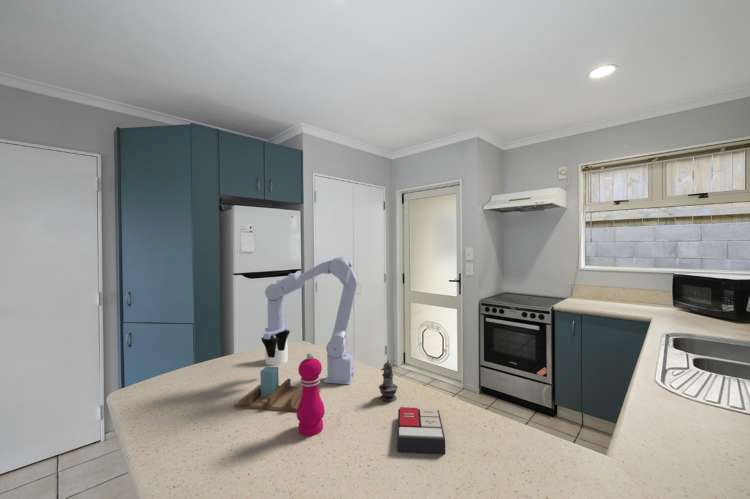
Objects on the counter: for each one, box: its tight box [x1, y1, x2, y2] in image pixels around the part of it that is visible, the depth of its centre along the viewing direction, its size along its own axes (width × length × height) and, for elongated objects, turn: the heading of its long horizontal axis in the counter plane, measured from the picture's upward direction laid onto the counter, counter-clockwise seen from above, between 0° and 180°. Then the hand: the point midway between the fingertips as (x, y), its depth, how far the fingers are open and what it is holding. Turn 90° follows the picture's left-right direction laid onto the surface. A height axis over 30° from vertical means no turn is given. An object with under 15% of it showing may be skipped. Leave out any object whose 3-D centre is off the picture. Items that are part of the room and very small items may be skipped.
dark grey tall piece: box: [378, 360, 398, 403], centre depth 101 cm, size 6×6×12 cm
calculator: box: [396, 406, 446, 456], centre depth 81 cm, size 11×4×15 cm
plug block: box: [260, 366, 280, 397], centre depth 102 cm, size 4×4×8 cm
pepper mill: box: [296, 352, 326, 437], centre depth 84 cm, size 7×7×20 cm
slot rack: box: [234, 378, 321, 413], centre depth 101 cm, size 22×14×4 cm, turn 81°
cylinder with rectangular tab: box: [264, 335, 289, 366], centre depth 135 cm, size 9×9×12 cm
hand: (276, 353), depth 116 cm, fingers open, 7 cm apart
